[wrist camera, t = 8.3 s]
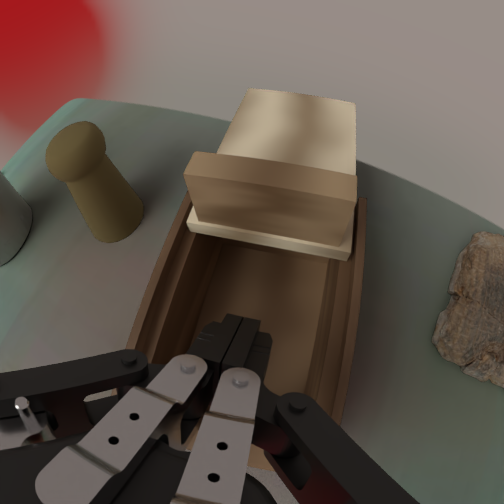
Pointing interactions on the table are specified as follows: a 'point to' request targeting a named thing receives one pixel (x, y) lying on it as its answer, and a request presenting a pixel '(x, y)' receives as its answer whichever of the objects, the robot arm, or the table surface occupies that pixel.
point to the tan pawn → (94, 182)
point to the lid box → (258, 308)
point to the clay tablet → (476, 311)
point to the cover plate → (291, 145)
